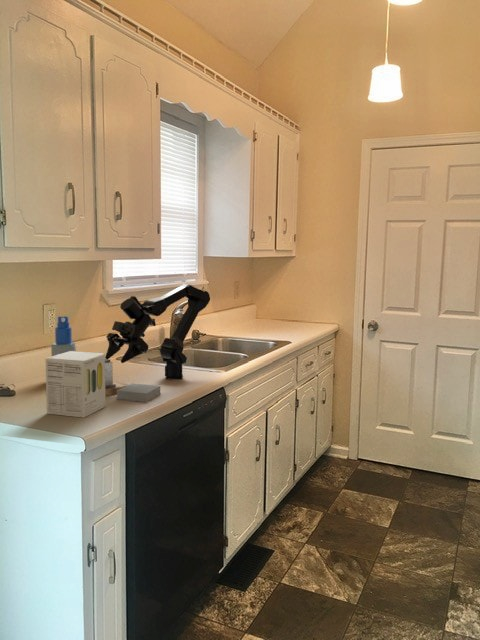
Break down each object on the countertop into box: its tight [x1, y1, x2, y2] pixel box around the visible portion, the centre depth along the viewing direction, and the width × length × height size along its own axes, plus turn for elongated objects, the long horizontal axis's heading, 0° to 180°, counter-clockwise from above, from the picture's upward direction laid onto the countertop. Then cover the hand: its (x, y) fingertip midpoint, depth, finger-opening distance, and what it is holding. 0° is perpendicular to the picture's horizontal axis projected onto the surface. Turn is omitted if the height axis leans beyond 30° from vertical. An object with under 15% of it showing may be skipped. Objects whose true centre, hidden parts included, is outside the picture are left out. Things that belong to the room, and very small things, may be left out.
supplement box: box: [45, 350, 106, 419], centre depth 167 cm, size 13×13×18 cm
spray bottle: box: [50, 315, 77, 357], centre depth 205 cm, size 9×9×25 cm
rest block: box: [116, 382, 161, 403], centre depth 185 cm, size 11×11×3 cm
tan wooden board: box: [105, 380, 129, 397], centre depth 191 cm, size 12×8×3 cm, turn 139°
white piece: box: [105, 358, 114, 386], centre depth 189 cm, size 4×4×9 cm
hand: (113, 360), depth 192 cm, fingers open, 9 cm apart
